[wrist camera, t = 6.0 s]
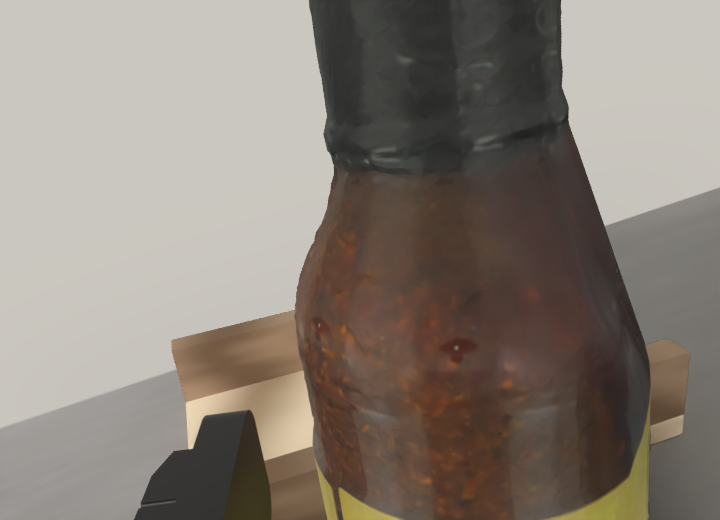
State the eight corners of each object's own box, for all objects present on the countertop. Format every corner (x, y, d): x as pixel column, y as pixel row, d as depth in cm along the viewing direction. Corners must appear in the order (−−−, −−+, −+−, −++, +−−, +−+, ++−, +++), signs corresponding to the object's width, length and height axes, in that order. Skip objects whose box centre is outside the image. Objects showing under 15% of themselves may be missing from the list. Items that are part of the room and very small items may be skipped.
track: (520, 315, 36) (519, 255, 34) (682, 433, 25) (690, 351, 23) (189, 405, 31) (171, 340, 29) (202, 603, 20) (175, 513, 18)
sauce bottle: (695, 799, 13) (863, -288, 6) (485, 1021, 11) (353, -402, 4) (500, 590, 19) (469, -119, 12) (330, 705, 16) (153, -116, 9)
